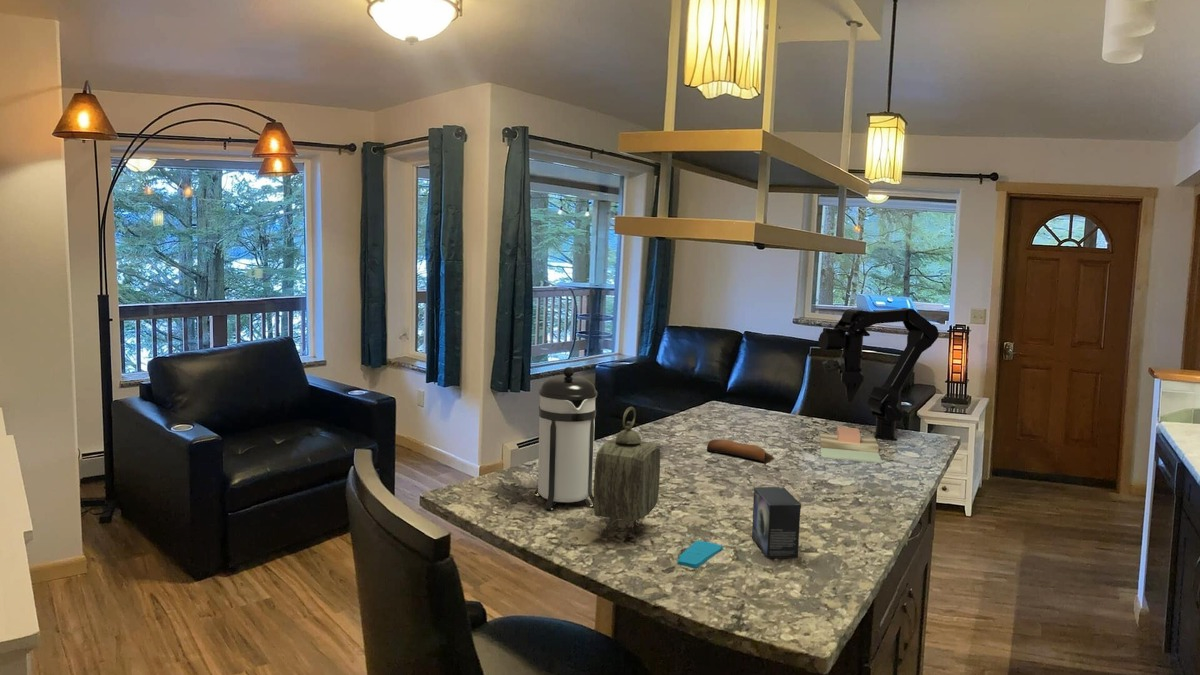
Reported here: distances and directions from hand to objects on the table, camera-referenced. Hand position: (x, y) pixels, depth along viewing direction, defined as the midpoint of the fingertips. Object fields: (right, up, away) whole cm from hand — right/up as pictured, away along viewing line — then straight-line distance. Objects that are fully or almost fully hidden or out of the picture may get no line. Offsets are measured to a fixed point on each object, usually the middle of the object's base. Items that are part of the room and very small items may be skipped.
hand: (848, 400), depth 238 cm
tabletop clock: (-72, -19, -85) cm, 112 cm away
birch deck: (-3, -13, -9) cm, 16 cm away
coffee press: (-85, -17, -67) cm, 110 cm away
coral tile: (-3, -11, -8) cm, 14 cm away
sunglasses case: (-37, -14, -23) cm, 46 cm away
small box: (-44, -21, -91) cm, 103 cm away
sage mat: (-6, -14, -20) cm, 25 cm away
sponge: (-59, -21, -95) cm, 114 cm away
